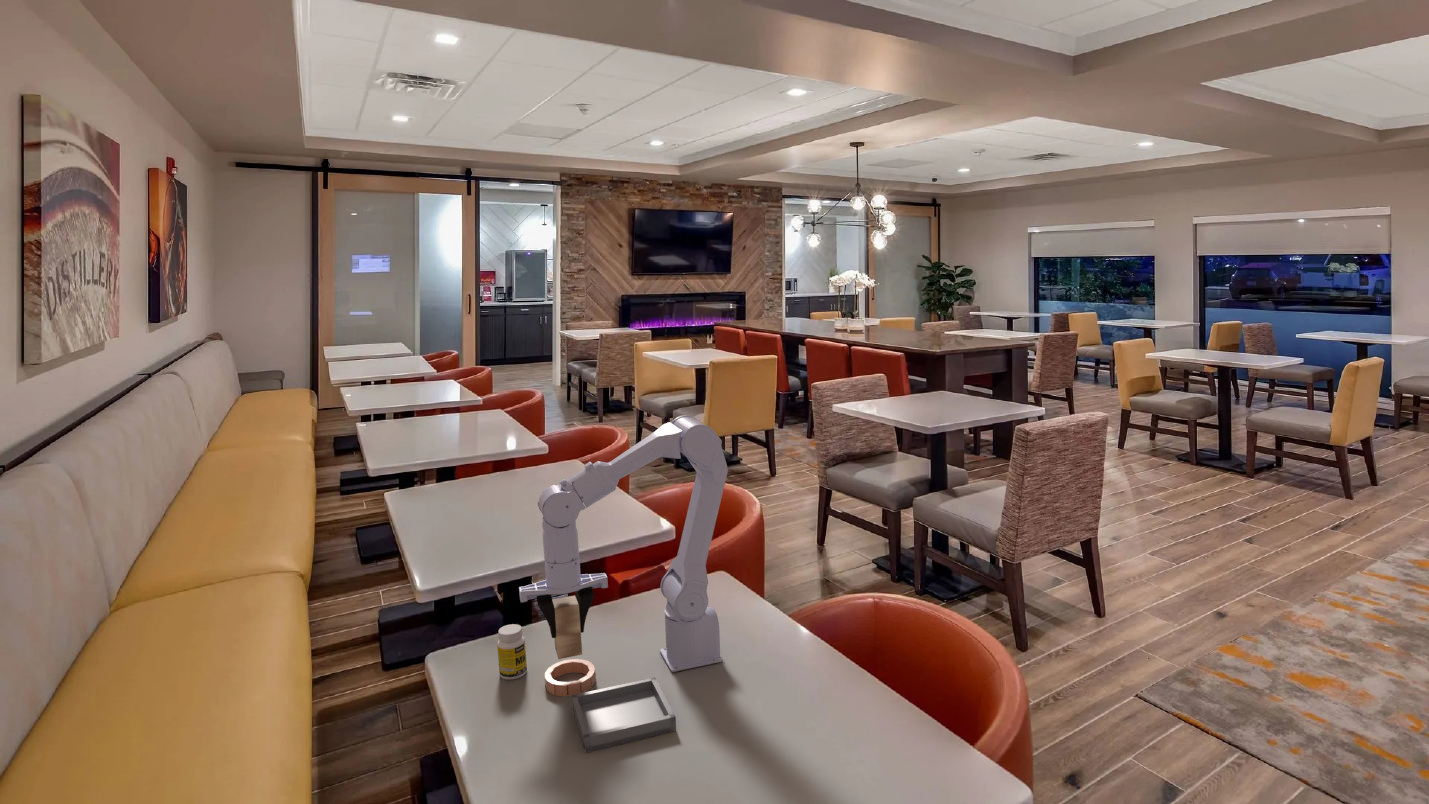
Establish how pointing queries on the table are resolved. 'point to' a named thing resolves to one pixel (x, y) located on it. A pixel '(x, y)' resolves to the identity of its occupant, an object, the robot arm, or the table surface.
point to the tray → (622, 714)
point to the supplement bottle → (511, 652)
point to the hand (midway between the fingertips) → (567, 632)
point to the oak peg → (567, 627)
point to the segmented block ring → (573, 686)
